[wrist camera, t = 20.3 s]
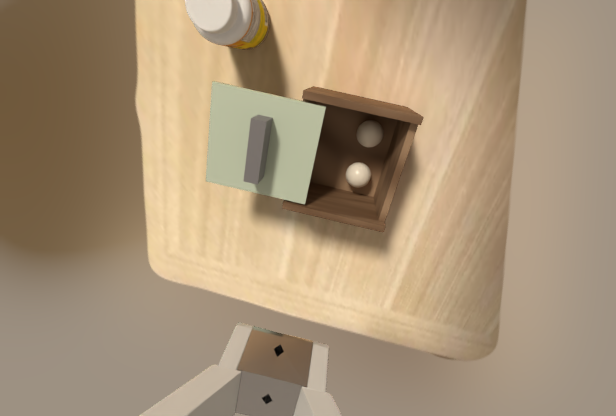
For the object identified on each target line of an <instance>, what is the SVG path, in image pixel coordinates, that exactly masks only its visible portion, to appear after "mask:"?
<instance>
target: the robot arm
mask: <svg viewBox="0 0 616 416" xmlns="http://www.w3.org/2000/svg"><path fill="white" fill-rule="evenodd" d="M328 356H329V346H328V344H324V343H319V342H315V341H312V340H307V339H303V338H298V337H295V336H290V335H286V334H281V333H277V332H273V331H270V330H266V329H262V328H259V327H255V326H250V325H247V324H243V323H240V322H238V324H237V325H236V327H235V329H234V331H233V333H232V336H231V338H230V340H229V342H228V345H227V347H226V349H225V351H224V353H223V356H222V358H221V360H220V362H219V364H218V365H215V364H214V365H212V366H210V367H209V368H207V369H206V370H204V371H203V372H201V373H200V374H199V375H197V376H196V377H194V378H193V379H191V380H190V381H188V382H187V383H186V384H184V385H183V386H181V387H180V388H179V389H177V390H176V391H174V392H173V393H171V394H170V395H168V396H167V397H166V398H164V399H163V400H161V401H160V402H158V403H157V404H155V405H154V406H152V407H151V408H150V409H148V410H147V411H145V412H144V413H143V414H141V415H139V416H233V415H234V414H235V413H240V414H245V415H249V416H342V415H341V413H340V411H339V409H338V407H337V405H336V403H335V401H334V399H333V397H332V395H331V394H330V393H326V383H327V368H328Z"/></svg>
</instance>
